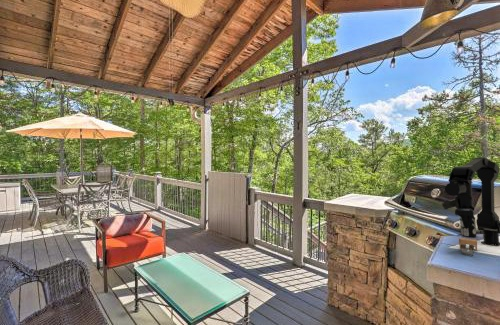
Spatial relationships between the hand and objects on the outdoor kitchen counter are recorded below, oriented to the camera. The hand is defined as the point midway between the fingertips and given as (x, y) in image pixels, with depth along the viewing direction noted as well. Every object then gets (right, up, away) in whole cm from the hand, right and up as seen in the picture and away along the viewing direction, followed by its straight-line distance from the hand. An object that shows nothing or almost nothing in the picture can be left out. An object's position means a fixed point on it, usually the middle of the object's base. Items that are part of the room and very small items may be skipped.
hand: (466, 228), depth 121 cm
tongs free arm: (+4, -11, +6) cm, 13 cm away
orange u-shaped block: (+5, -11, +5) cm, 13 cm away
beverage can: (+22, -11, +26) cm, 36 cm away
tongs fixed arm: (+4, -11, +3) cm, 12 cm away
